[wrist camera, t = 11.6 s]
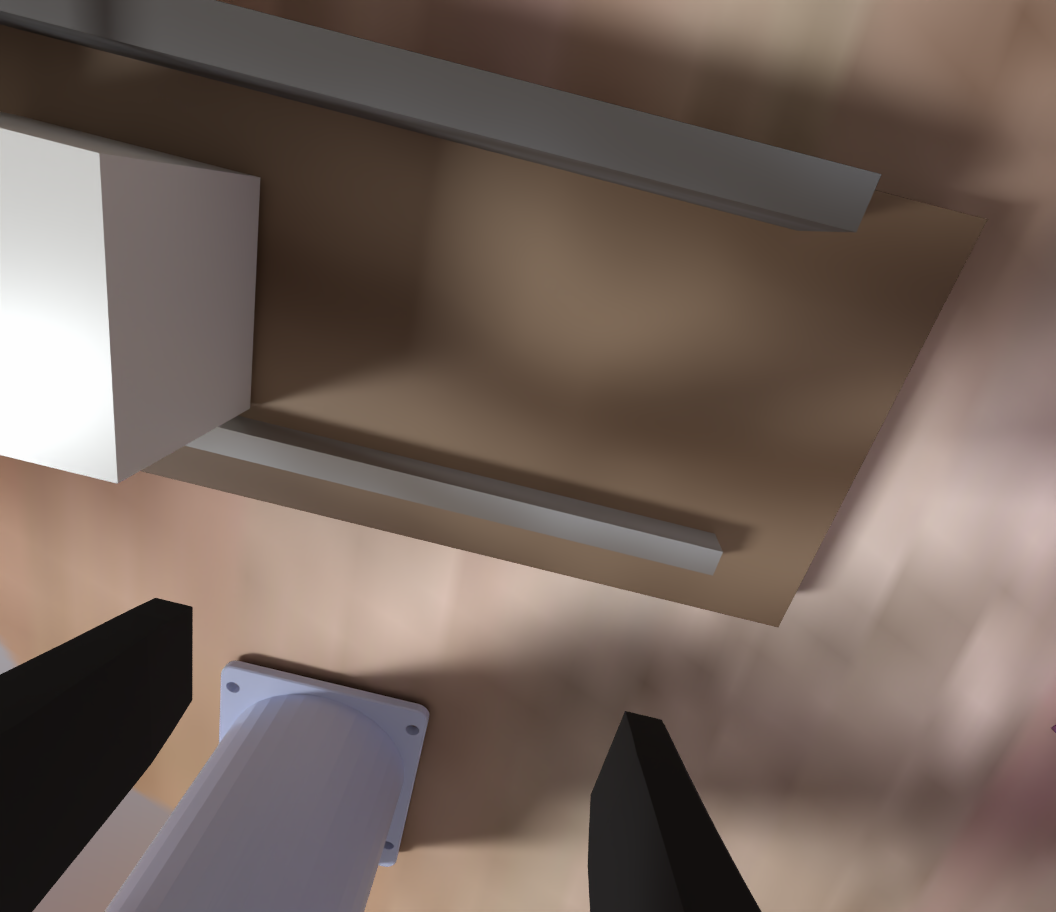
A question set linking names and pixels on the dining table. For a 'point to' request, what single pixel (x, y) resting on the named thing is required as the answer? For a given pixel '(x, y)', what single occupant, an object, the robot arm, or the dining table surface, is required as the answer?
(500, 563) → the dining table surface
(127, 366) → the gauge slider
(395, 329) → the gauge base
